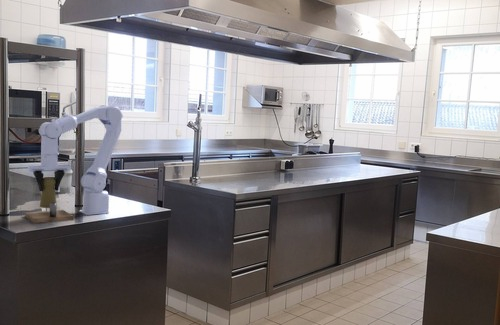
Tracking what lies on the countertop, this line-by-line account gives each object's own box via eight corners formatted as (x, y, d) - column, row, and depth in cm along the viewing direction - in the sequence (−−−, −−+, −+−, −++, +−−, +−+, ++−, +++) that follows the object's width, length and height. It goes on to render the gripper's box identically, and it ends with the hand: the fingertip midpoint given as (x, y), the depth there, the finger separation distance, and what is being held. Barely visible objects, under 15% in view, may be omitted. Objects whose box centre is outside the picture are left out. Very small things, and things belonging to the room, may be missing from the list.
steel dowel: (55, 215, 182) (55, 202, 182) (57, 216, 180) (57, 203, 180) (48, 216, 181) (48, 202, 180) (50, 217, 179) (50, 203, 179)
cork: (59, 206, 186) (59, 178, 184) (43, 208, 182) (44, 179, 180) (52, 203, 190) (52, 175, 188) (36, 205, 186) (36, 176, 184)
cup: (63, 195, 232) (63, 170, 230) (54, 193, 235) (54, 169, 234) (75, 194, 238) (76, 169, 237) (66, 192, 241) (67, 168, 240)
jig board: (62, 213, 193) (62, 209, 193) (73, 219, 184) (73, 215, 184) (25, 216, 185) (25, 212, 184) (34, 223, 175) (34, 218, 175)
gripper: (65, 153, 190) (64, 187, 192) (25, 153, 181) (25, 189, 183) (71, 155, 185) (70, 190, 186) (31, 155, 176) (30, 192, 177)
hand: (48, 190), depth 184 cm, fingers closed on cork, 5 cm apart
